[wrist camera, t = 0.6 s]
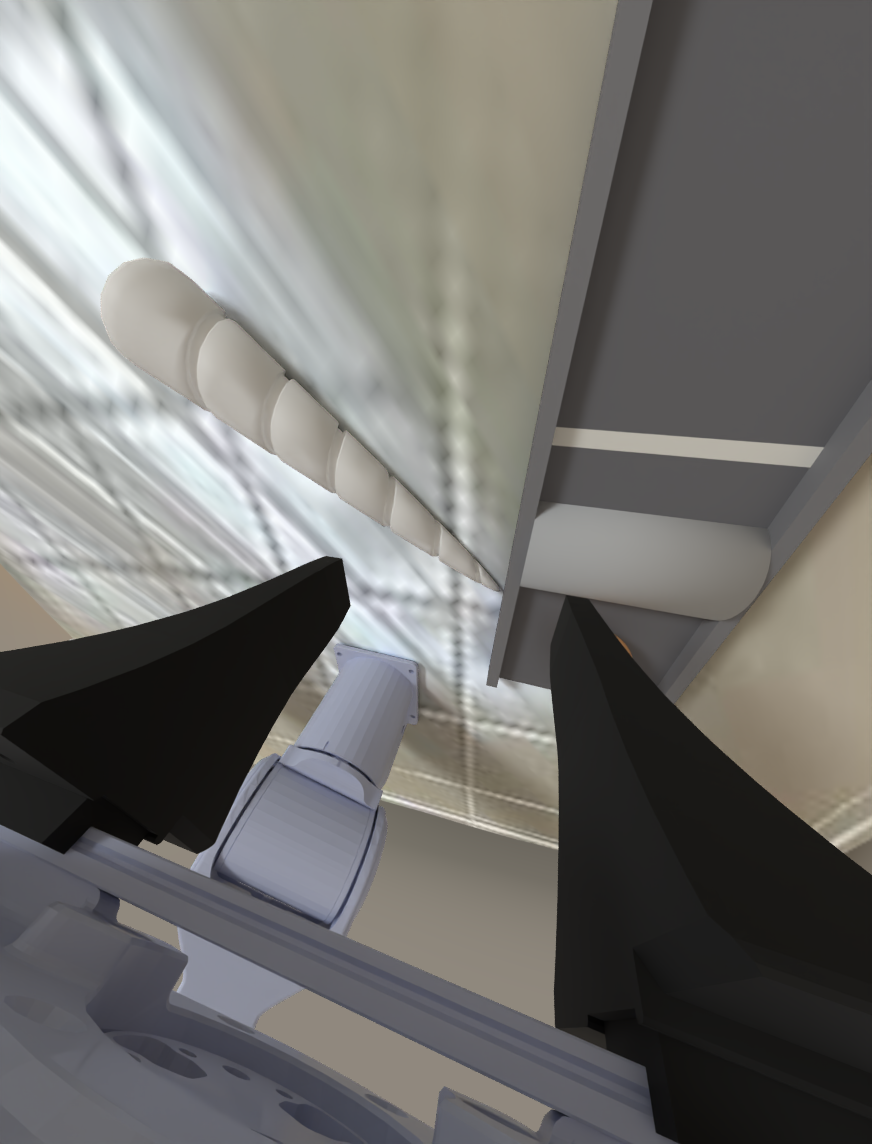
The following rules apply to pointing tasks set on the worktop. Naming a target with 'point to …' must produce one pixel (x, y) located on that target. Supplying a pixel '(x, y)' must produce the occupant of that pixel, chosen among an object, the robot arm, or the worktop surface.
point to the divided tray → (702, 331)
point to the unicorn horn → (258, 398)
